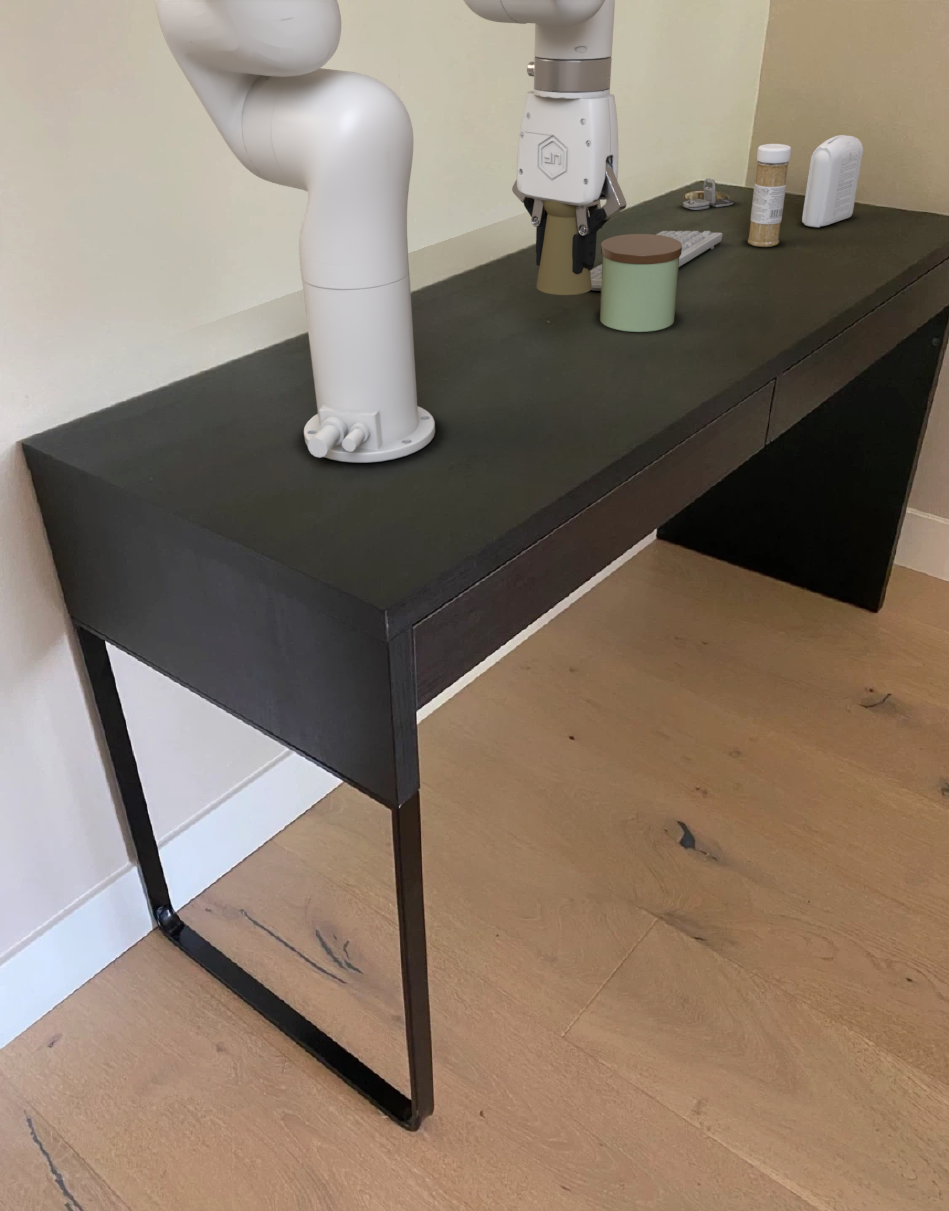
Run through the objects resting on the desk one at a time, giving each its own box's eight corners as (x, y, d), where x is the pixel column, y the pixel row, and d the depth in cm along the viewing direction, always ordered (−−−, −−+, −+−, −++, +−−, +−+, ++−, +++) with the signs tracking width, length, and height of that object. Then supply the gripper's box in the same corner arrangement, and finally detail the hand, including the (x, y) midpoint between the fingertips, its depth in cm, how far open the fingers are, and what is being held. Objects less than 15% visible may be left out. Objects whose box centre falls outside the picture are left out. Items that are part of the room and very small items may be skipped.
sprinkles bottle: (770, 238, 155) (782, 141, 148) (784, 246, 151) (797, 147, 144) (741, 241, 154) (752, 143, 147) (755, 249, 151) (766, 149, 143)
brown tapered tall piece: (588, 296, 110) (594, 186, 104) (532, 293, 111) (534, 184, 105) (594, 280, 115) (600, 175, 109) (540, 278, 116) (543, 173, 110)
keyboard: (657, 236, 158) (658, 222, 157) (722, 245, 153) (723, 231, 152) (564, 287, 138) (564, 272, 137) (634, 299, 133) (635, 284, 132)
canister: (670, 335, 122) (677, 257, 117) (591, 329, 124) (594, 252, 119) (680, 309, 129) (686, 235, 124) (605, 305, 132) (608, 231, 127)
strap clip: (690, 211, 170) (693, 183, 168) (681, 207, 173) (683, 180, 170) (734, 204, 173) (737, 177, 171) (724, 201, 175) (727, 174, 173)
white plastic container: (831, 212, 167) (844, 129, 160) (856, 217, 164) (870, 132, 157) (796, 225, 161) (809, 139, 154) (821, 230, 158) (835, 142, 152)
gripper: (482, 75, 104) (483, 261, 114) (621, 87, 95) (609, 288, 105) (529, 68, 109) (525, 248, 119) (665, 80, 100) (649, 273, 110)
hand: (564, 265), depth 112 cm, fingers closed on brown tapered tall piece, 4 cm apart
